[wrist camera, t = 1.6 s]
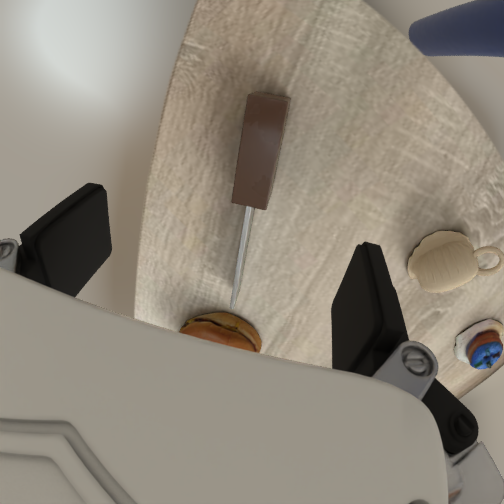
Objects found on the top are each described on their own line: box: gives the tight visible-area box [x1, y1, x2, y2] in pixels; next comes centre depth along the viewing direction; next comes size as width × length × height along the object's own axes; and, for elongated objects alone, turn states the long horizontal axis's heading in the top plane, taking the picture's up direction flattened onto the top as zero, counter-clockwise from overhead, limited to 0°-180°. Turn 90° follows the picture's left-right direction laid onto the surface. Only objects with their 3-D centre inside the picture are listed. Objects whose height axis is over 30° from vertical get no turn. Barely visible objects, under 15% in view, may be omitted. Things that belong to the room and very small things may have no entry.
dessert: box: [454, 319, 504, 369], centre depth 28 cm, size 8×7×6 cm
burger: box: [179, 312, 261, 353], centre depth 34 cm, size 10×9×5 cm
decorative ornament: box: [407, 231, 504, 293], centre depth 21 cm, size 4×8×5 cm, turn 119°
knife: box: [230, 92, 291, 309], centre depth 24 cm, size 19×3×3 cm, turn 171°
